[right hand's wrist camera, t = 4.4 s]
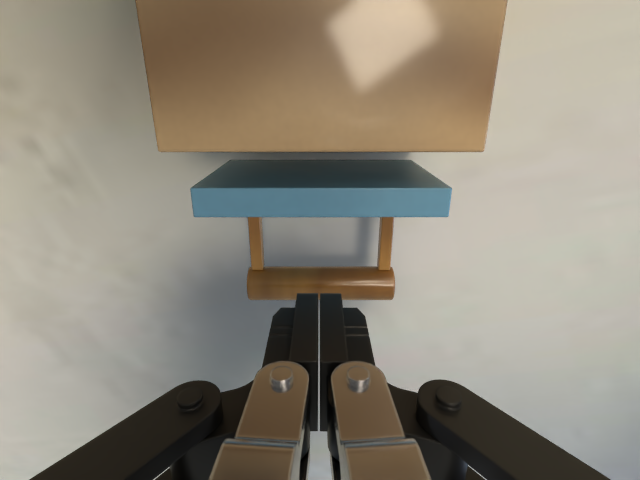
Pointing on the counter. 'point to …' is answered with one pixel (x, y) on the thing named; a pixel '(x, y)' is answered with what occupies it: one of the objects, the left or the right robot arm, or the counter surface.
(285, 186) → the drawer
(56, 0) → the counter surface
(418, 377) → the counter surface
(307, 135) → the cabinet
